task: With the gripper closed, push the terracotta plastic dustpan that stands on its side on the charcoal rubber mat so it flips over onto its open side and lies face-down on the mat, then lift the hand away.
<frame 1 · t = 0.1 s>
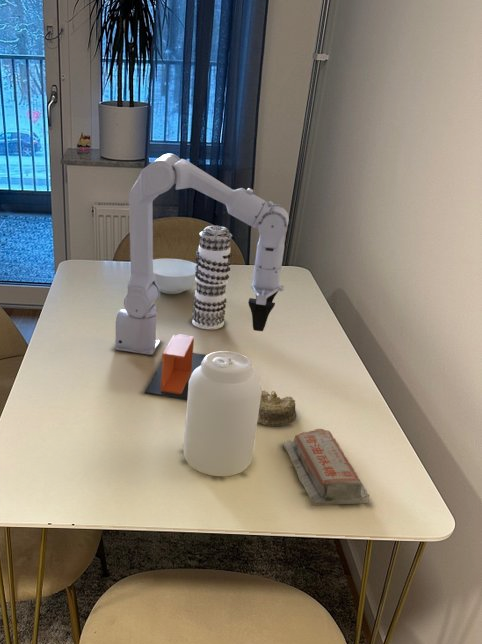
hand: (260, 323, 146), 10 cm above the table, tool pointing down, fingers open, 7 cm apart
mat: (195, 376, 145), on the table
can: (217, 458, 118), on the table
packaged product: (323, 474, 115), on the table
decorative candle: (207, 323, 172), on the table
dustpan: (176, 381, 142), resting on mat
cereal bowl: (171, 290, 192), on the table
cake: (271, 414, 132), on the table
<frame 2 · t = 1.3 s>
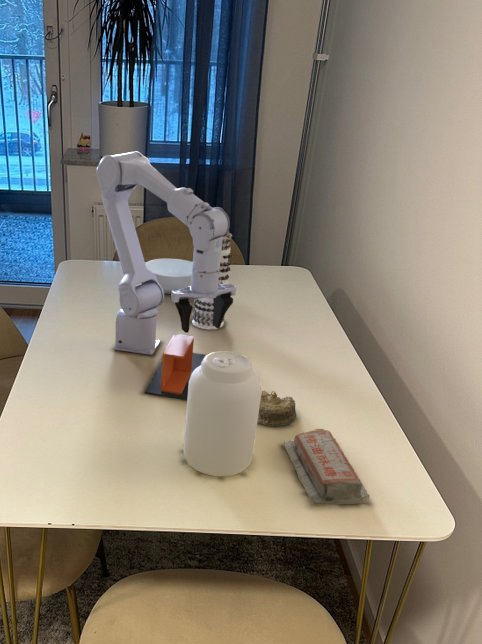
hand: (200, 328, 143), 10 cm above the table, tool pointing down, fingers open, 7 cm apart
nothing on the table moved.
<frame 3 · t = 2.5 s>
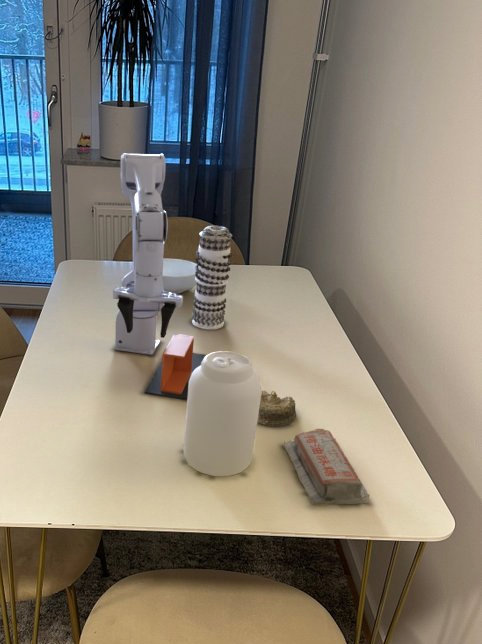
hand: (146, 333, 139), 10 cm above the table, tool pointing down, fingers open, 7 cm apart
nothing on the table moved.
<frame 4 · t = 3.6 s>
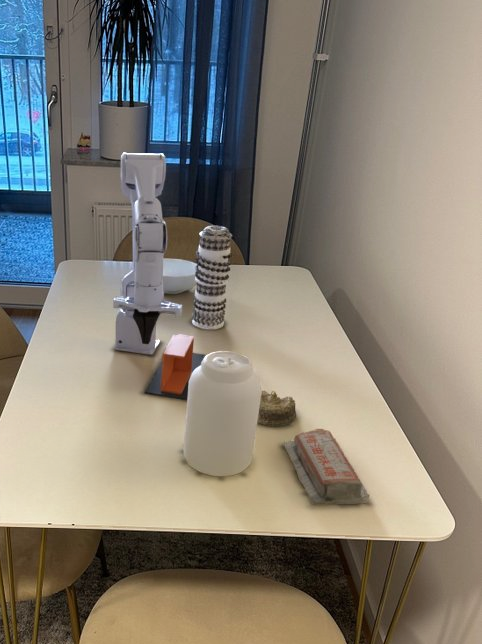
hand: (146, 342, 140), 8 cm above the table, tool pointing down, fingers closed
nothing on the table moved.
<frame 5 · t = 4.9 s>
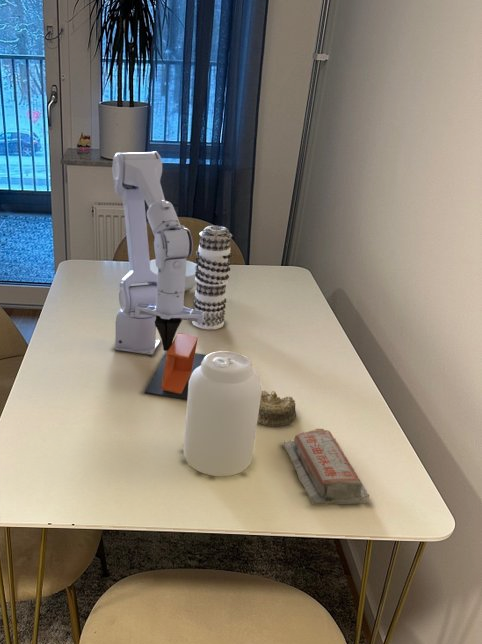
hand: (167, 348, 140), 7 cm above the table, tool pointing down, fingers closed
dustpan: (176, 380, 142), point 1 cm above the table, tilted 6°, touching gripper, mat
everything else where it was.
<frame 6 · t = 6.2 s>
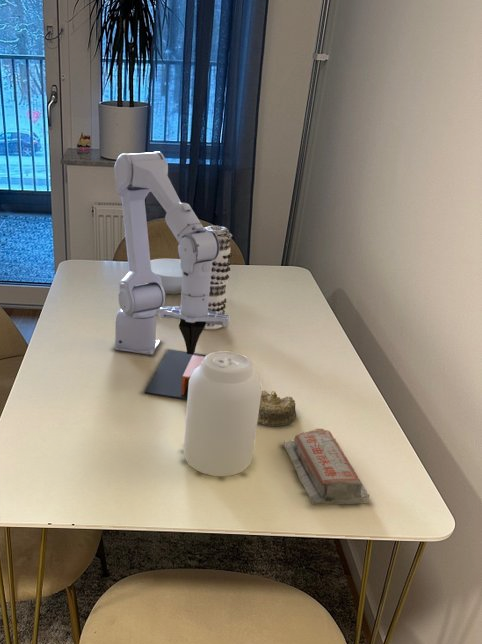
hand: (190, 352, 139), 7 cm above the table, tool pointing down, fingers closed
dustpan: (187, 374, 140), point 3 cm above the table, tilted 90°, touching mat
everything else where it was.
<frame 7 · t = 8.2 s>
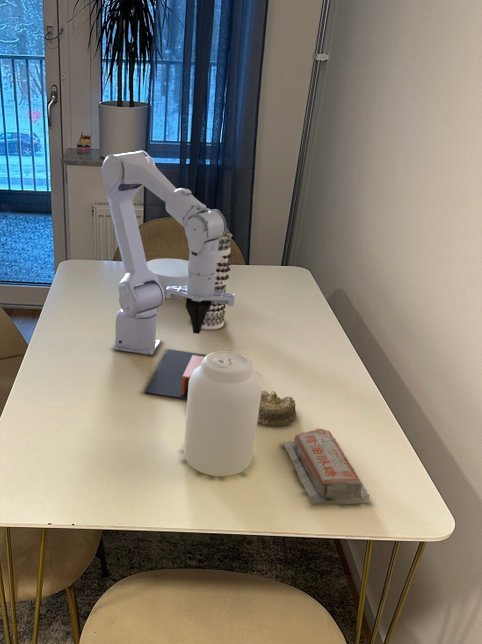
hand: (196, 331, 141), 10 cm above the table, tool pointing down, fingers closed
nothing on the table moved.
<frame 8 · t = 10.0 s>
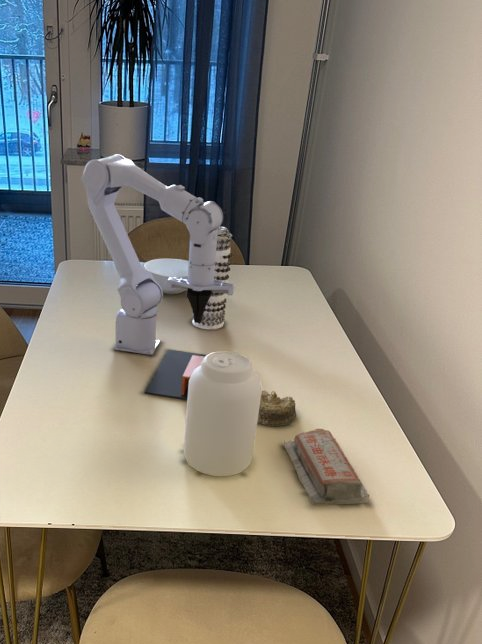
hand: (198, 321, 146), 10 cm above the table, tool pointing down, fingers closed
nothing on the table moved.
at the end: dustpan tilted 90°; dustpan 1.1 cm from the target spot, point 2.6 cm above the table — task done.
